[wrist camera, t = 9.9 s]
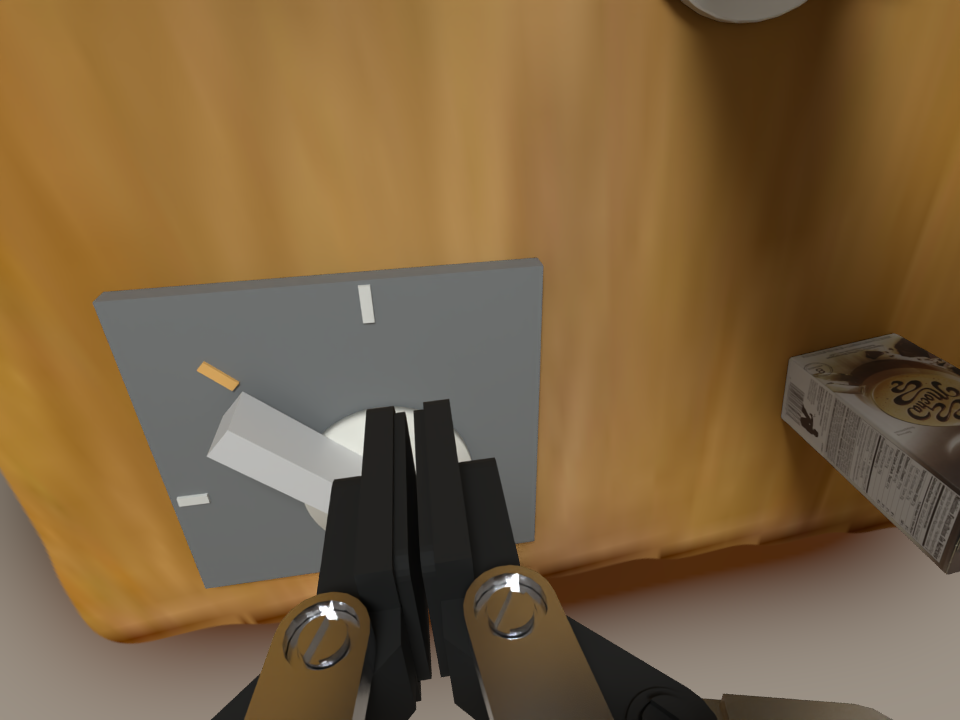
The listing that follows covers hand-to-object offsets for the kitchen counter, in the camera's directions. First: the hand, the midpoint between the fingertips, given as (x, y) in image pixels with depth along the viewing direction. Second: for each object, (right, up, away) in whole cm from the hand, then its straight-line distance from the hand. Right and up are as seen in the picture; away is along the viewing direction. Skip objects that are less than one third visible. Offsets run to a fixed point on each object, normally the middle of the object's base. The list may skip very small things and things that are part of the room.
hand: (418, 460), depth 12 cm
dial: (-8, -5, +28) cm, 29 cm away
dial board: (-8, -3, +29) cm, 30 cm away
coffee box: (+30, +1, +34) cm, 45 cm away
